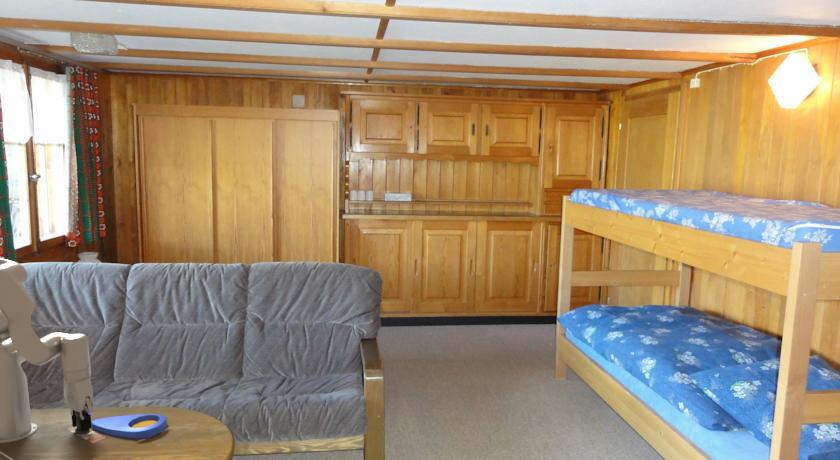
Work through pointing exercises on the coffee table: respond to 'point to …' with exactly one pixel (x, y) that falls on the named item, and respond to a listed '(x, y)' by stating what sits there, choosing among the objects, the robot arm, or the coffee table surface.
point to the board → (88, 435)
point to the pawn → (78, 430)
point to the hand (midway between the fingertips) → (82, 426)
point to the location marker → (132, 425)
